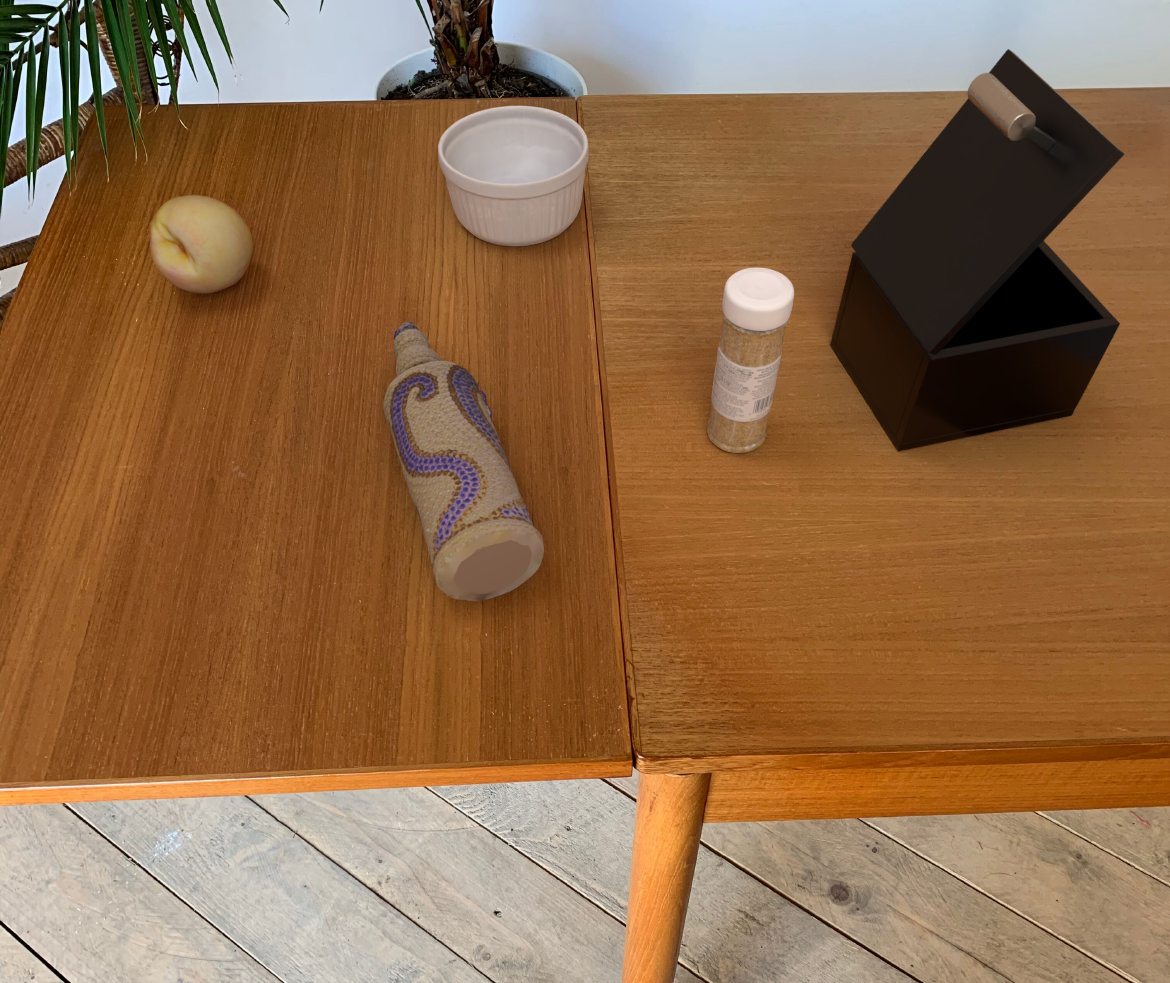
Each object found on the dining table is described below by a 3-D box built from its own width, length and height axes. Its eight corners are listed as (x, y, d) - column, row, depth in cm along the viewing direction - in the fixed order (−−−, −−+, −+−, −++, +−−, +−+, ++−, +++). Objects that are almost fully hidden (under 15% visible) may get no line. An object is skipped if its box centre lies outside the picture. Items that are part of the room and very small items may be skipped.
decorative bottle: (552, 587, 68) (548, 522, 62) (442, 616, 66) (428, 552, 61) (460, 346, 82) (450, 277, 77) (368, 366, 81) (352, 297, 76)
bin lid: (1014, 53, 66) (968, 19, 63) (1125, 154, 59) (1078, 120, 56) (857, 248, 75) (810, 226, 72) (935, 356, 68) (887, 336, 65)
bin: (990, 315, 85) (1027, 222, 78) (1072, 416, 77) (1120, 323, 70) (829, 345, 82) (852, 251, 75) (897, 452, 75) (930, 359, 68)
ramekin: (423, 241, 91) (413, 169, 85) (476, 165, 99) (469, 94, 93) (563, 268, 89) (562, 196, 83) (606, 187, 96) (607, 116, 91)
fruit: (152, 284, 87) (117, 200, 81) (238, 247, 90) (211, 164, 84) (192, 327, 84) (160, 243, 77) (281, 287, 87) (256, 203, 81)
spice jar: (743, 406, 78) (768, 256, 67) (777, 442, 76) (810, 293, 65) (693, 426, 77) (711, 277, 66) (727, 464, 74) (751, 316, 64)
